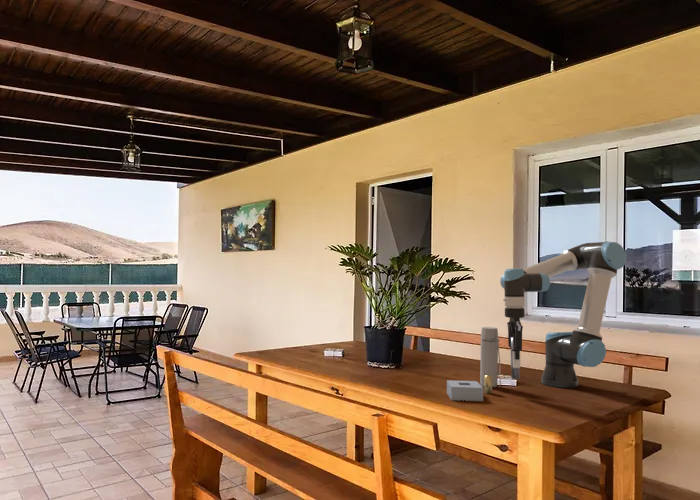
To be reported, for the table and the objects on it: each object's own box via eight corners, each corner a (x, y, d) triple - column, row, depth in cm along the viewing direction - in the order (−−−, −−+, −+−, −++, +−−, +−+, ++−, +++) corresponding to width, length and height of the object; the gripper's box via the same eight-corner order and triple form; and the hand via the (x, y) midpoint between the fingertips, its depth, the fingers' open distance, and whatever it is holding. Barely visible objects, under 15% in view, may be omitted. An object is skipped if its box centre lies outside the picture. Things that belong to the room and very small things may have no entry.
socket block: (476, 393, 209) (476, 381, 209) (483, 401, 197) (483, 387, 197) (446, 392, 209) (446, 380, 210) (451, 400, 197) (451, 386, 198)
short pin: (491, 392, 212) (491, 374, 212) (492, 393, 209) (492, 376, 209) (483, 392, 212) (483, 374, 212) (485, 393, 209) (485, 376, 209)
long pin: (518, 377, 207) (517, 337, 208) (520, 379, 204) (519, 338, 205) (510, 377, 207) (510, 337, 208) (512, 379, 204) (512, 338, 205)
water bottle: (485, 388, 218) (486, 328, 219) (476, 384, 226) (477, 326, 227) (505, 387, 221) (505, 328, 222) (495, 383, 228) (495, 326, 229)
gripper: (499, 305, 215) (500, 362, 214) (510, 308, 199) (511, 370, 198) (518, 305, 215) (519, 362, 214) (530, 308, 199) (531, 370, 198)
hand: (515, 366), depth 206 cm, fingers closed on long pin, 3 cm apart
